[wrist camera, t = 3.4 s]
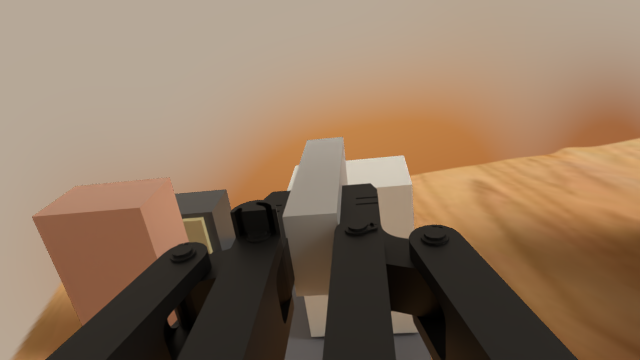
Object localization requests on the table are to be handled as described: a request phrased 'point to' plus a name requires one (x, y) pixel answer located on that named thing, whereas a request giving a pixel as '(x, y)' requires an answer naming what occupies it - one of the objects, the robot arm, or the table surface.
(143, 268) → the terracotta key
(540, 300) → the table surface
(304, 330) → the key console
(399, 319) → the off-white key
